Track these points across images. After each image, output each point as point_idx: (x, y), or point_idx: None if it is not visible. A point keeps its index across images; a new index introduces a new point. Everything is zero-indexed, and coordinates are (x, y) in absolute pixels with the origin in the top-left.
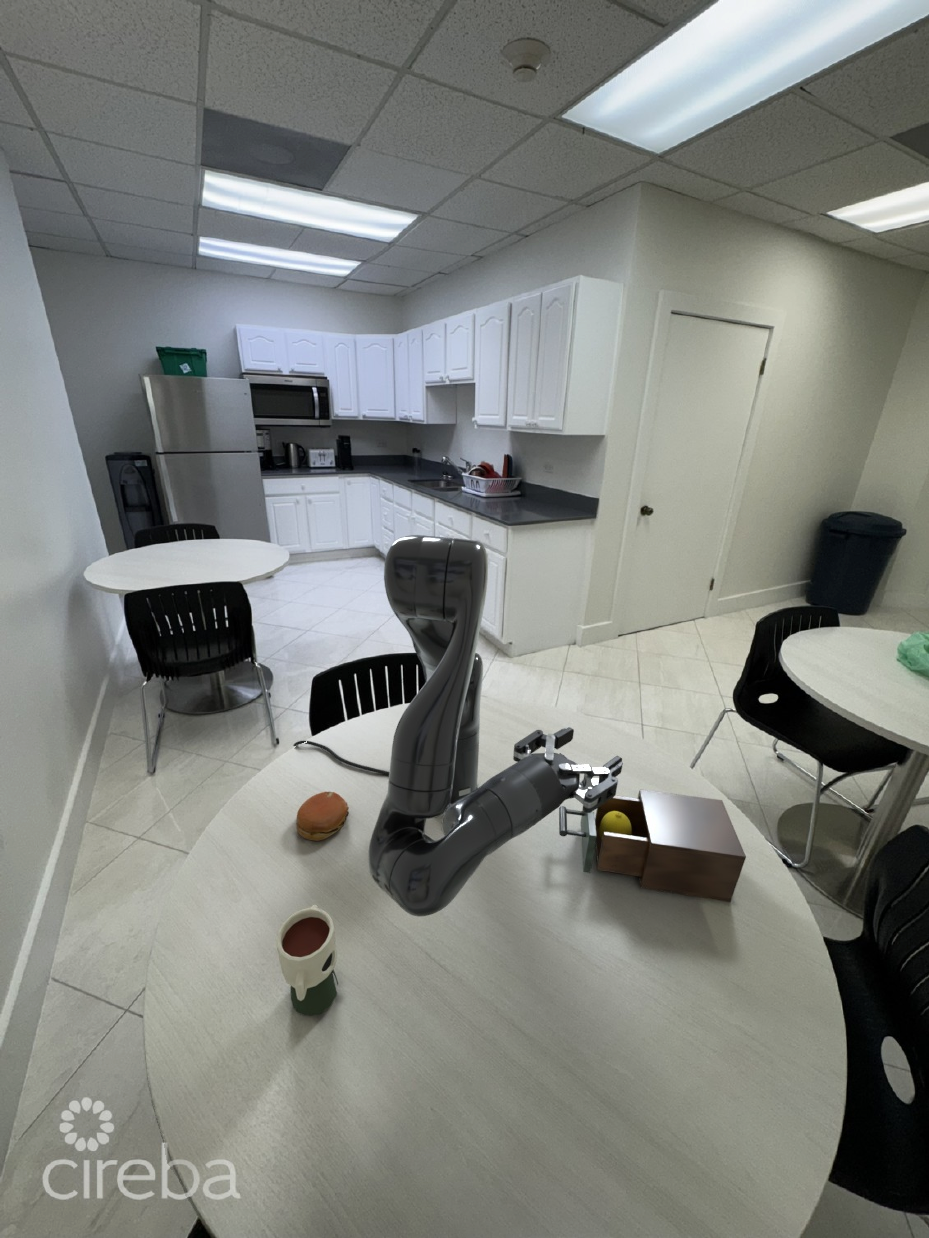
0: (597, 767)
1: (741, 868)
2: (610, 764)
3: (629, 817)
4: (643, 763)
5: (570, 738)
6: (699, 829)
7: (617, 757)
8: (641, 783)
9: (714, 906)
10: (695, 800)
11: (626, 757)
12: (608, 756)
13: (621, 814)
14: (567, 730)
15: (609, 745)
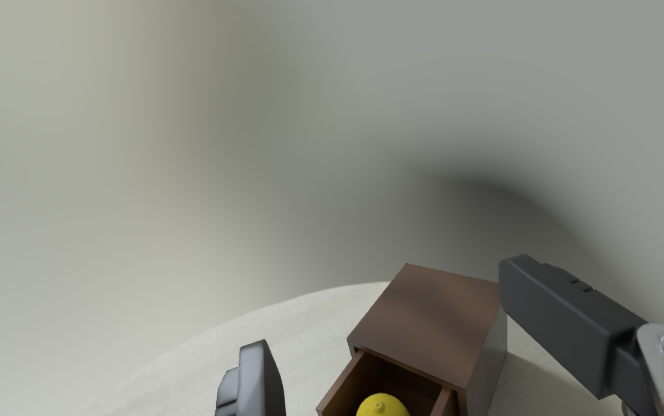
0: (657, 373)
1: None
2: (589, 300)
3: (364, 388)
4: (278, 317)
5: (279, 385)
6: (448, 307)
7: (520, 262)
8: (301, 337)
9: (513, 373)
10: (396, 286)
11: (257, 329)
12: (239, 348)
13: (378, 400)
14: (253, 369)
15: (227, 336)
